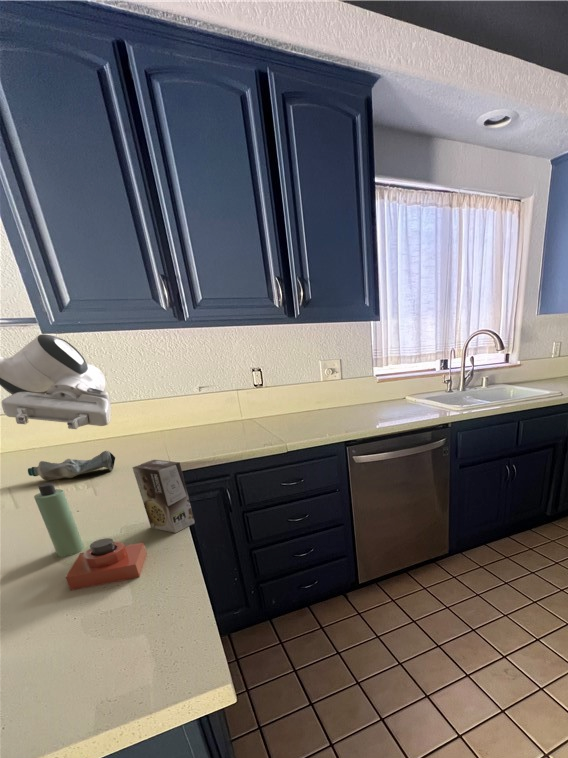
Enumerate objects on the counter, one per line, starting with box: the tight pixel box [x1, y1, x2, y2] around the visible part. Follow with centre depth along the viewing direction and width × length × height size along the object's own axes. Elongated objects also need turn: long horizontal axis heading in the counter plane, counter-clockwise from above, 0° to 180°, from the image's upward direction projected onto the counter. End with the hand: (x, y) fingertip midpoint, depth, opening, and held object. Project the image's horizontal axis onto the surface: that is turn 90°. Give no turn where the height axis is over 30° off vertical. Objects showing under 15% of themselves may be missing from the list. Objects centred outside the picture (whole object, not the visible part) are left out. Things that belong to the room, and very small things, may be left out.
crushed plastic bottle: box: [27, 450, 116, 481], centre depth 146 cm, size 13×7×25 cm
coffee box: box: [132, 459, 196, 534], centre depth 104 cm, size 9×6×16 cm
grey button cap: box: [89, 537, 116, 556], centre depth 86 cm, size 4×4×2 cm
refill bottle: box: [33, 482, 85, 557], centre depth 94 cm, size 5×5×16 cm
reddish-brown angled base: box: [65, 541, 148, 591], centre depth 87 cm, size 12×10×5 cm
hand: (46, 423), depth 93 cm, fingers open, 8 cm apart
